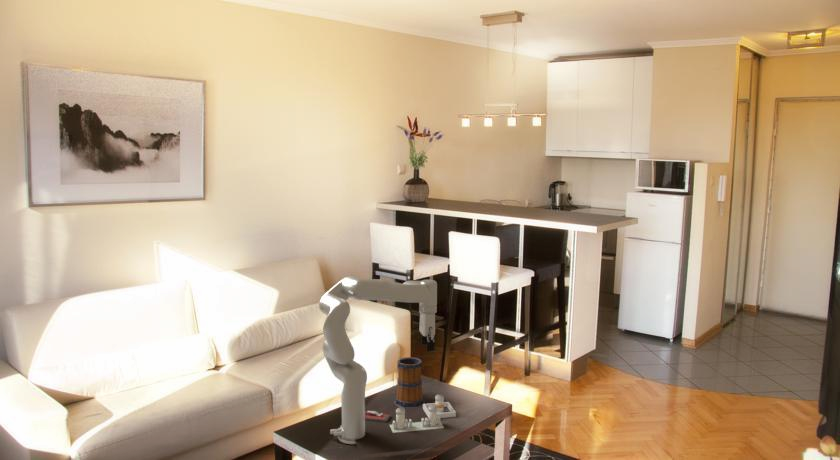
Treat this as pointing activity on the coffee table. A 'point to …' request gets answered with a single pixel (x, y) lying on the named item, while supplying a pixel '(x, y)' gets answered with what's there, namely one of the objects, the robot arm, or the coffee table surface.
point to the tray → (441, 415)
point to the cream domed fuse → (400, 418)
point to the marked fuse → (439, 403)
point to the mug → (409, 383)
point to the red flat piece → (376, 416)
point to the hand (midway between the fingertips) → (427, 347)
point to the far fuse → (432, 415)
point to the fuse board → (416, 425)
